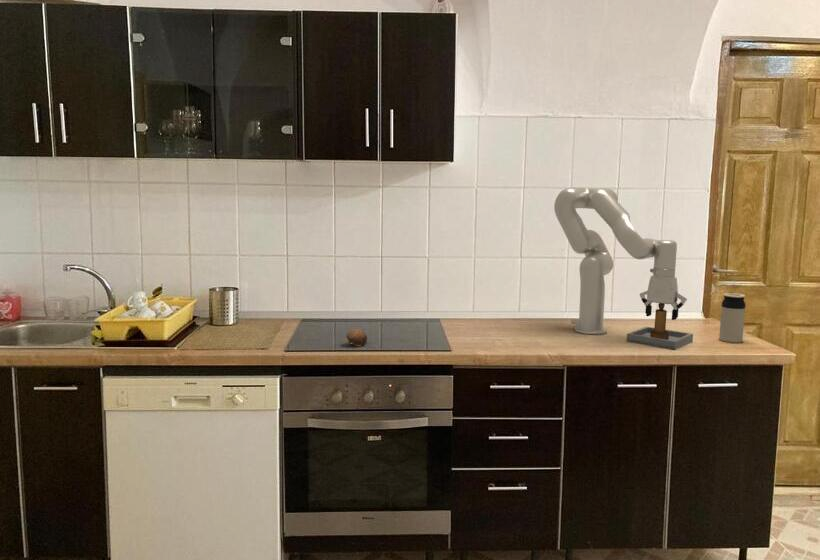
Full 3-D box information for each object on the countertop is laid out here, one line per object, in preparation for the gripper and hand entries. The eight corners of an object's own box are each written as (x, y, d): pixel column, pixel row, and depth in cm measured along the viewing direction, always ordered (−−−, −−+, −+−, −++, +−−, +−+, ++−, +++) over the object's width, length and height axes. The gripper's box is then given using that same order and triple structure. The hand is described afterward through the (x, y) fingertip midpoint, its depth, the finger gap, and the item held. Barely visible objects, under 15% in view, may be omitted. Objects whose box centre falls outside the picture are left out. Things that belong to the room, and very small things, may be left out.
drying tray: (626, 341, 233) (627, 333, 232) (646, 333, 246) (646, 326, 245) (674, 350, 221) (675, 341, 220) (692, 341, 233) (693, 333, 233)
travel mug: (728, 343, 231) (732, 296, 228) (714, 338, 238) (718, 293, 236) (747, 342, 232) (751, 296, 230) (732, 337, 240) (736, 292, 237)
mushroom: (342, 334, 228) (349, 322, 225) (360, 340, 232) (368, 328, 229) (343, 348, 222) (351, 336, 219) (362, 354, 225) (370, 343, 222)
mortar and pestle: (665, 341, 229) (668, 294, 226) (647, 339, 232) (650, 292, 230) (670, 338, 234) (673, 292, 231) (652, 336, 238) (655, 290, 235)
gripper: (637, 271, 233) (634, 315, 235) (684, 276, 221) (680, 322, 223) (645, 270, 238) (642, 313, 240) (691, 274, 226) (688, 319, 229)
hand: (661, 317), depth 232 cm, fingers open, 9 cm apart
